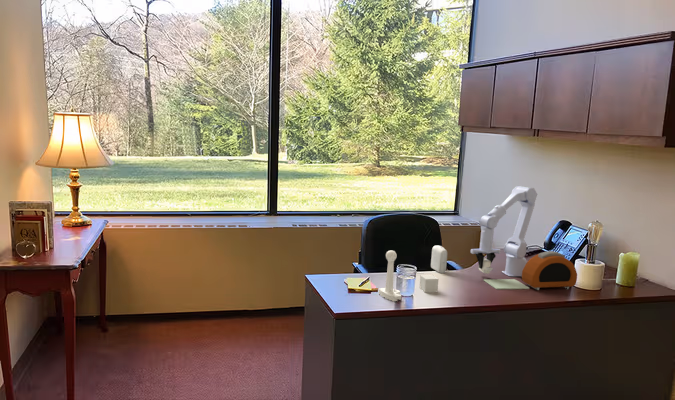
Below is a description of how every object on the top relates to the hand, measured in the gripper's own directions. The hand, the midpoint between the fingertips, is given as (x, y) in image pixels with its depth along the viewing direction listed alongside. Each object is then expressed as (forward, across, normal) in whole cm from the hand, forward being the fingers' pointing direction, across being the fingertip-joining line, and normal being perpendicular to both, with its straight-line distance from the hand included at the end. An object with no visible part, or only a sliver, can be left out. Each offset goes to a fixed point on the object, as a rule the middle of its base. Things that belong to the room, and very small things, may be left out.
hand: (484, 268), depth 250 cm
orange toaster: (+5, +25, -15) cm, 30 cm away
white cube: (+5, -34, -17) cm, 38 cm away
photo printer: (+5, -18, +13) cm, 23 cm away
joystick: (+5, -53, -25) cm, 59 cm away
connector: (+1, 0, -1) cm, 2 cm away
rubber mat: (+5, +6, -11) cm, 13 cm away
